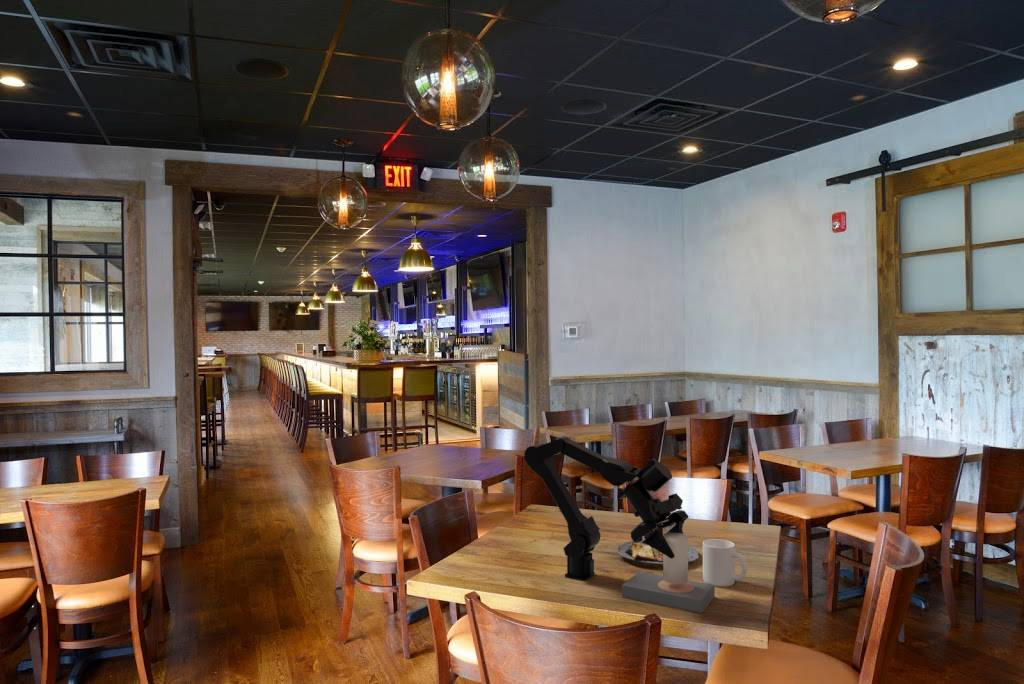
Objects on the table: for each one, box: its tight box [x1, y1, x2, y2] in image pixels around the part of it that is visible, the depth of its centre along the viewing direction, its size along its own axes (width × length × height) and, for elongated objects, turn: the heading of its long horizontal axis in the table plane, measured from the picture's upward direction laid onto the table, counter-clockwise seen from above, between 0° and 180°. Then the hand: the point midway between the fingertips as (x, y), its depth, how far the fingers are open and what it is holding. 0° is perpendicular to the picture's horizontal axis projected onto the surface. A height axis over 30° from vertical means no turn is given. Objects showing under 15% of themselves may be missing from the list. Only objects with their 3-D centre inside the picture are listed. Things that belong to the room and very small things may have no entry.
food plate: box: [617, 538, 699, 566], centre depth 203 cm, size 25×23×4 cm
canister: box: [662, 532, 689, 584], centre depth 169 cm, size 6×6×11 cm
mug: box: [702, 538, 748, 588], centre depth 180 cm, size 12×8×10 cm
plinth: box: [621, 571, 716, 614], centre depth 170 cm, size 20×12×3 cm, turn 59°
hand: (680, 554), depth 168 cm, fingers closed on canister, 6 cm apart
